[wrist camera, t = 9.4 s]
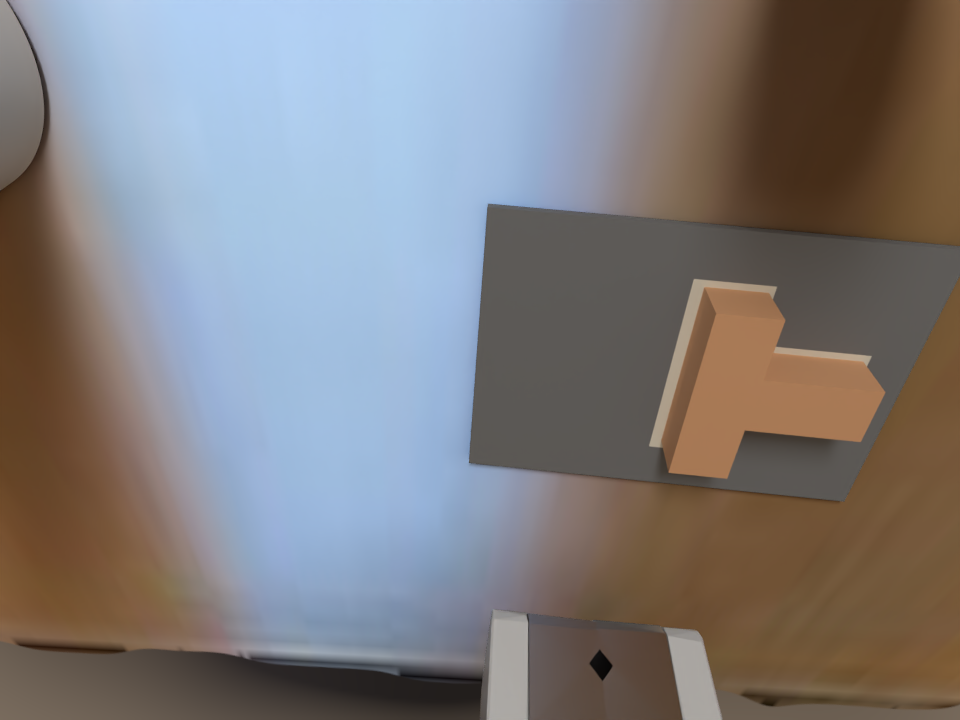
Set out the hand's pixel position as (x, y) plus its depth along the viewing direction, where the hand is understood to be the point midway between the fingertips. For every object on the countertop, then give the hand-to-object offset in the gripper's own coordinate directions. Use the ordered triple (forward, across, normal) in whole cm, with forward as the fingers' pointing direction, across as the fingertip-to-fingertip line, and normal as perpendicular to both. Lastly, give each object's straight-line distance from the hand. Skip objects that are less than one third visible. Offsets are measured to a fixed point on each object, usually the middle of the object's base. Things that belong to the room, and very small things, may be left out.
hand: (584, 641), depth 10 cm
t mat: (+28, -10, +13) cm, 32 cm away
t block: (+27, -15, +13) cm, 33 cm away
